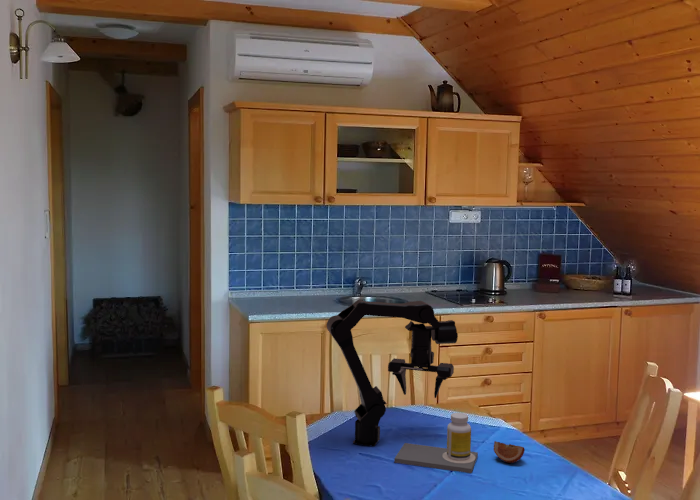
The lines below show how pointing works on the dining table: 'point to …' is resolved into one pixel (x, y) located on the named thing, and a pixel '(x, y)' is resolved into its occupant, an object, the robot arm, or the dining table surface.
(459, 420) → the pill bottle
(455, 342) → the robot arm
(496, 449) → the fruit slice
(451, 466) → the panel board
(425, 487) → the dining table surface
